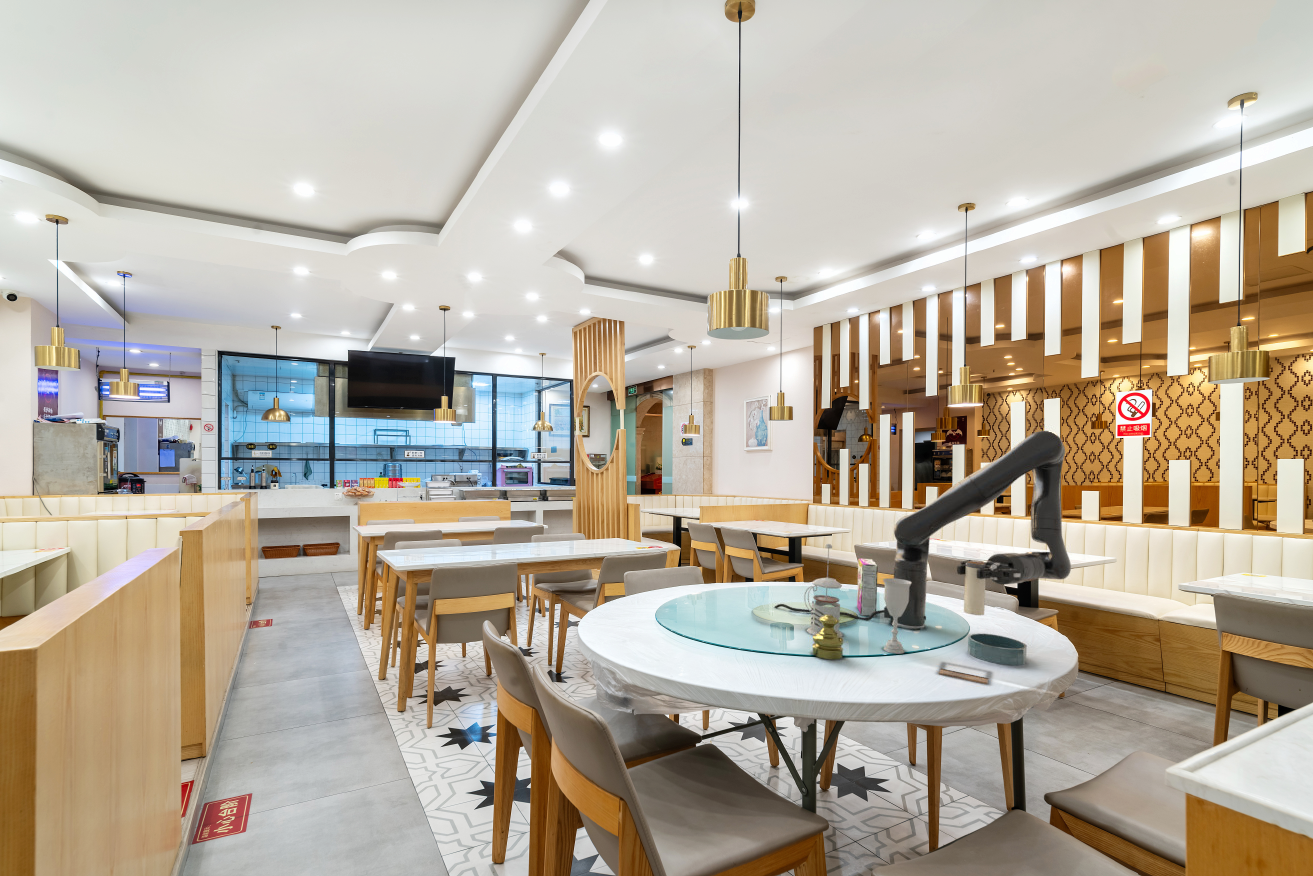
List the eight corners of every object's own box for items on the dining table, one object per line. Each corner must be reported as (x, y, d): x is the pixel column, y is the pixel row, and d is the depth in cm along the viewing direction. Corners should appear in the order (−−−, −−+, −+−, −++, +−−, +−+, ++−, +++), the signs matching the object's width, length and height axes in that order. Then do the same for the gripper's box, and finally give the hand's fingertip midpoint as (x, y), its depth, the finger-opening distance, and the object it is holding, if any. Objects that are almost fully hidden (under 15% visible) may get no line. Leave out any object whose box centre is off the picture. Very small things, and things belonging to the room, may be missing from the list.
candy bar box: (855, 607, 206) (857, 558, 206) (871, 608, 205) (873, 559, 205) (859, 615, 195) (862, 563, 195) (876, 617, 194) (878, 565, 194)
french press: (829, 640, 167) (834, 547, 167) (794, 629, 175) (798, 541, 176) (849, 634, 173) (853, 545, 174) (814, 624, 182) (818, 539, 182)
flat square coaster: (938, 674, 144) (938, 672, 144) (943, 662, 153) (943, 661, 153) (987, 684, 139) (987, 682, 139) (989, 672, 148) (989, 670, 148)
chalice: (894, 656, 156) (897, 584, 156) (873, 647, 162) (876, 579, 162) (914, 653, 159) (917, 583, 160) (893, 645, 165) (896, 577, 166)
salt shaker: (848, 656, 154) (849, 616, 154) (834, 662, 148) (836, 621, 148) (821, 648, 159) (822, 609, 159) (806, 654, 153) (808, 614, 154)
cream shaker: (963, 613, 148) (964, 562, 148) (964, 609, 151) (966, 560, 152) (983, 616, 145) (985, 565, 146) (984, 612, 149) (986, 563, 149)
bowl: (965, 659, 156) (966, 641, 156) (969, 647, 167) (970, 630, 167) (1025, 671, 149) (1026, 652, 149) (1025, 657, 160) (1026, 640, 161)
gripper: (984, 548, 162) (942, 551, 154) (1040, 558, 149) (998, 561, 141) (982, 577, 162) (941, 581, 153) (1039, 589, 149) (996, 594, 141)
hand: (968, 571), depth 147 cm, fingers closed on cream shaker, 4 cm apart
